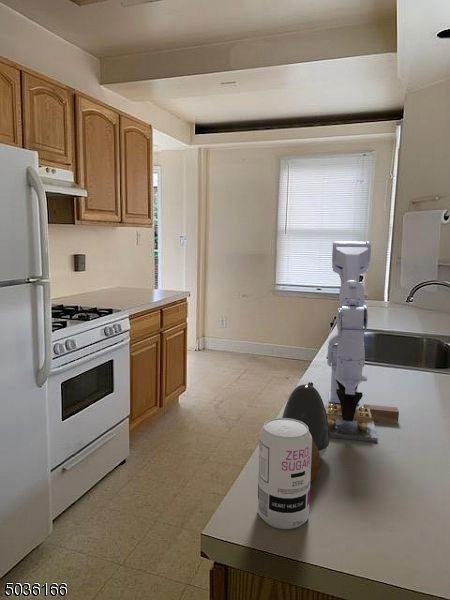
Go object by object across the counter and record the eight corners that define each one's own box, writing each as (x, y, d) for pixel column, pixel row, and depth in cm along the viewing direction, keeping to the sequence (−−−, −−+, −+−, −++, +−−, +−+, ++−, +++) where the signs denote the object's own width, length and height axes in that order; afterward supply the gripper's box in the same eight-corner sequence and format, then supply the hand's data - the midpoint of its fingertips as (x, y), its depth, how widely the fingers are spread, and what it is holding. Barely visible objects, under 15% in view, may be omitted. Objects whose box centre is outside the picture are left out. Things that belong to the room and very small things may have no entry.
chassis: (318, 418, 109) (319, 398, 108) (373, 424, 106) (374, 403, 105) (317, 435, 99) (318, 413, 98) (377, 442, 96) (378, 419, 95)
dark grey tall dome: (332, 450, 92) (335, 380, 90) (323, 473, 83) (327, 396, 81) (285, 441, 96) (287, 374, 94) (272, 462, 87) (274, 388, 85)
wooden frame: (326, 409, 106) (326, 404, 106) (369, 413, 103) (369, 408, 103) (326, 418, 100) (326, 413, 100) (371, 422, 98) (371, 417, 98)
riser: (362, 415, 111) (363, 404, 111) (396, 418, 109) (397, 407, 109) (363, 420, 108) (364, 408, 108) (398, 423, 106) (398, 411, 106)
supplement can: (275, 494, 76) (277, 412, 74) (317, 513, 71) (321, 425, 69) (247, 516, 70) (249, 428, 68) (292, 539, 65) (295, 444, 62)
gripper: (371, 367, 92) (367, 428, 94) (365, 351, 106) (362, 404, 108) (336, 365, 94) (333, 425, 96) (335, 349, 108) (333, 401, 110)
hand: (347, 413), depth 102 cm, fingers open, 7 cm apart
